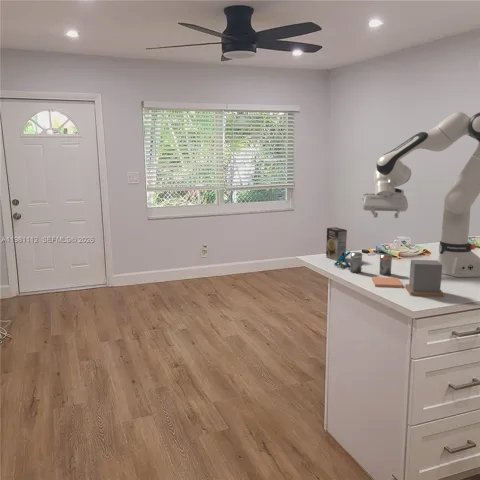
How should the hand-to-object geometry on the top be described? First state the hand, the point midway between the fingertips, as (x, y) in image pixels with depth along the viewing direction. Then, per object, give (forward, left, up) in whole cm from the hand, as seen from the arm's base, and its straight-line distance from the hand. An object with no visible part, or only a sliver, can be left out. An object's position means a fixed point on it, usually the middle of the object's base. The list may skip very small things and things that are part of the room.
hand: (386, 217), depth 199 cm
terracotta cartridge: (0, +8, -25) cm, 27 cm away
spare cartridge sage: (+13, +6, -25) cm, 29 cm away
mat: (+2, +23, -25) cm, 34 cm away
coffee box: (+21, -20, -26) cm, 39 cm away
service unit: (-11, +33, -25) cm, 43 cm away
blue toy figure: (+19, -4, -26) cm, 32 cm away
